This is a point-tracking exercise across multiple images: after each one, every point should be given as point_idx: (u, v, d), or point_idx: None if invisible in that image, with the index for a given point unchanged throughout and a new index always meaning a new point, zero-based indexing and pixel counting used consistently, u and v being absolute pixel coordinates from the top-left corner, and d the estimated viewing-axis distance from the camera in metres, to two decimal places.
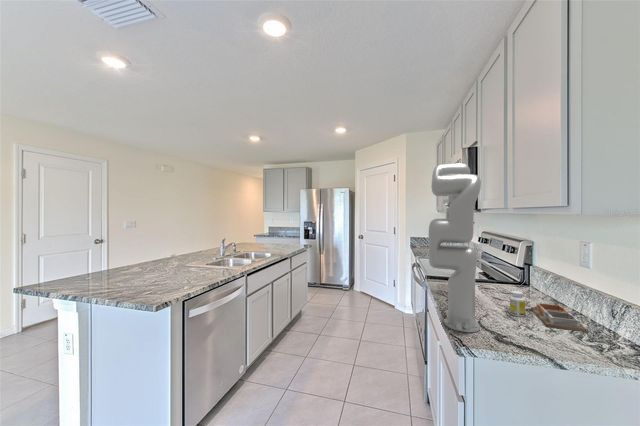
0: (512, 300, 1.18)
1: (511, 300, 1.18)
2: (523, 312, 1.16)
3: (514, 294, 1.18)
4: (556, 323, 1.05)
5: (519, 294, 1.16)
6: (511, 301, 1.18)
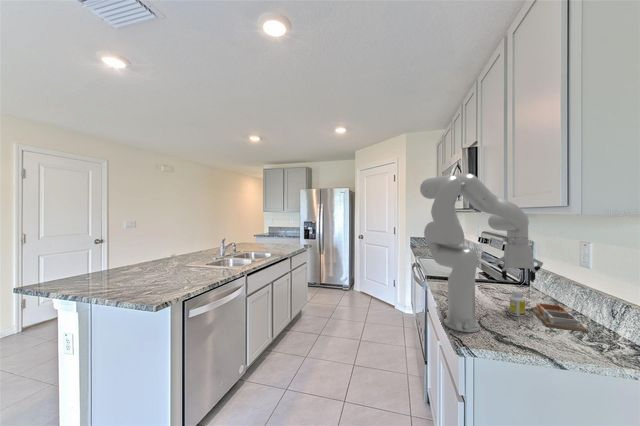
0: (512, 300, 1.18)
1: (511, 300, 1.18)
2: (523, 312, 1.16)
3: (514, 294, 1.18)
4: (556, 323, 1.05)
5: (519, 294, 1.16)
6: (511, 301, 1.18)
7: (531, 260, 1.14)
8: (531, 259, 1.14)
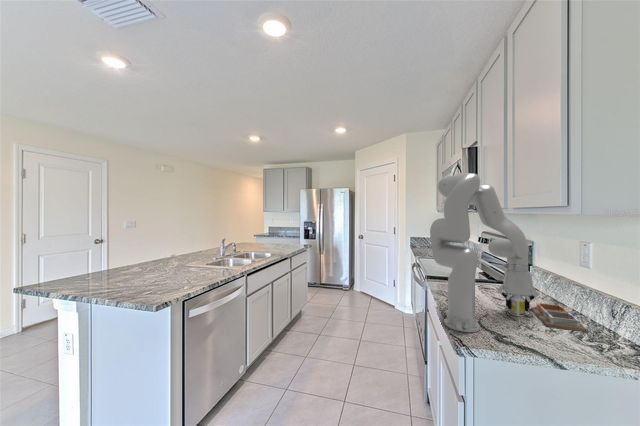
0: (512, 300, 1.18)
1: (511, 300, 1.18)
2: (523, 312, 1.16)
3: None
4: (556, 323, 1.05)
5: None
6: (511, 301, 1.18)
7: (531, 288, 1.14)
8: (531, 287, 1.14)
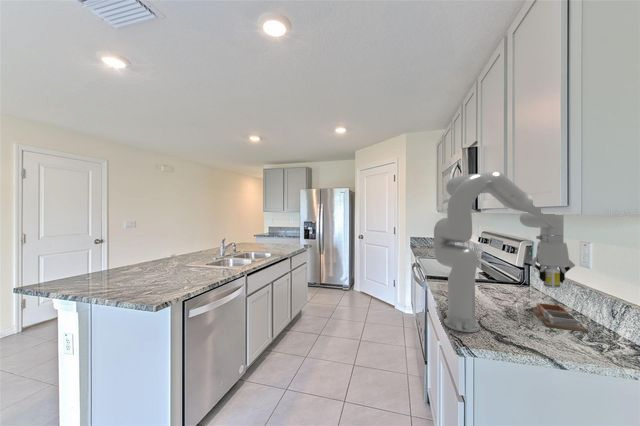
0: (546, 272, 1.16)
1: (545, 272, 1.16)
2: (558, 284, 1.14)
3: (549, 266, 1.15)
4: (556, 323, 1.05)
5: None
6: (545, 273, 1.16)
7: (566, 258, 1.12)
8: (566, 257, 1.12)
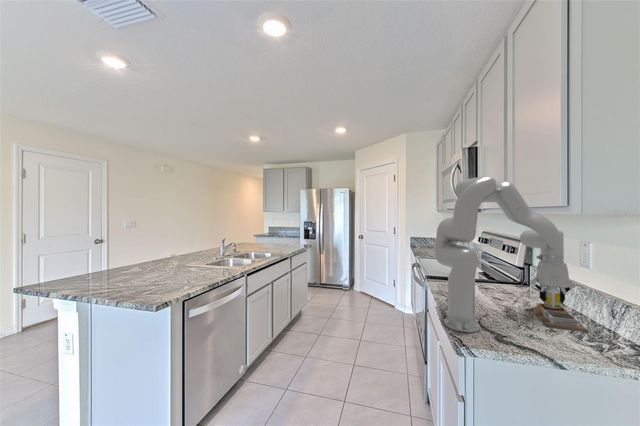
0: (547, 292, 1.16)
1: (546, 292, 1.16)
2: (559, 304, 1.14)
3: (549, 286, 1.16)
4: (556, 323, 1.05)
5: None
6: (546, 293, 1.16)
7: (567, 279, 1.12)
8: (567, 278, 1.12)
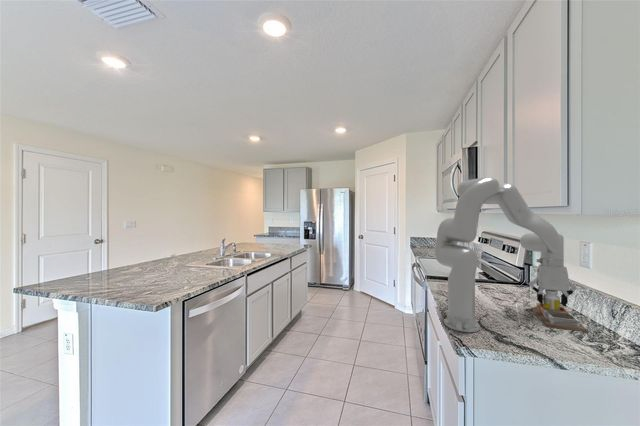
0: (546, 298, 1.16)
1: (545, 298, 1.16)
2: None
3: (548, 292, 1.16)
4: (556, 323, 1.05)
5: (554, 292, 1.14)
6: (545, 299, 1.16)
7: (567, 283, 1.12)
8: (567, 282, 1.12)
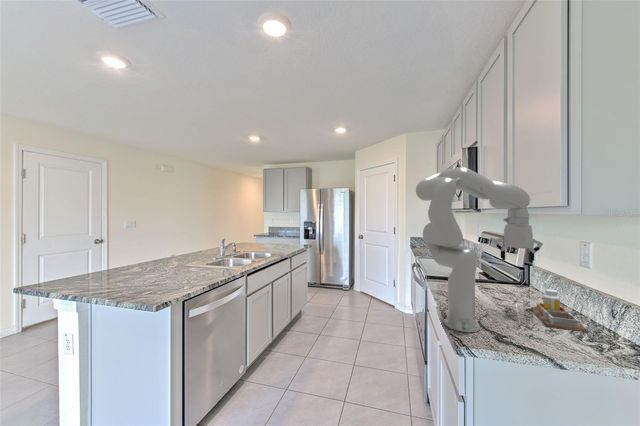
0: (546, 298, 1.16)
1: (545, 298, 1.16)
2: None
3: (548, 292, 1.16)
4: (556, 323, 1.05)
5: (554, 292, 1.14)
6: (545, 299, 1.16)
7: (531, 240, 1.14)
8: (531, 239, 1.14)
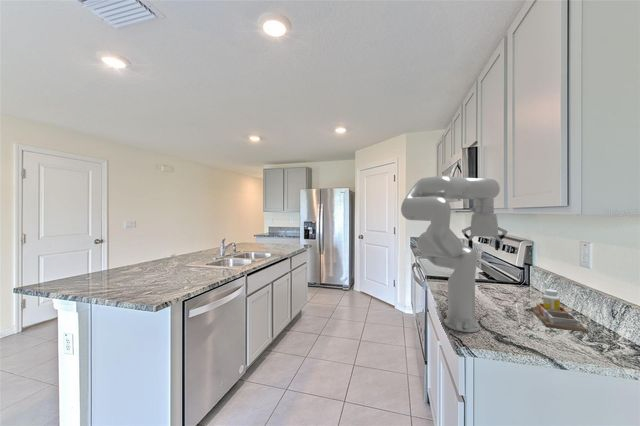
0: (546, 298, 1.16)
1: (545, 298, 1.16)
2: None
3: (548, 292, 1.16)
4: (556, 323, 1.05)
5: (554, 292, 1.14)
6: (545, 299, 1.16)
7: (496, 228, 1.15)
8: (496, 227, 1.15)
